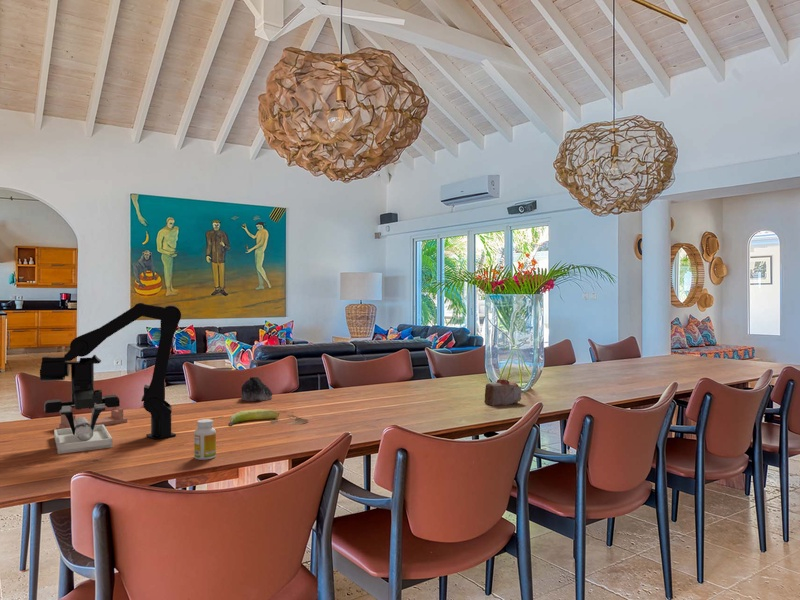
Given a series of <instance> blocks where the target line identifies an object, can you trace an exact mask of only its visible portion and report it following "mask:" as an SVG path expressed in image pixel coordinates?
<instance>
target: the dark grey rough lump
mask: <svg viewBox="0 0 800 600" xmlns="http://www.w3.org/2000/svg"><path fill="white" fill-rule="evenodd" d="M271 399H273V392H272V391H271V389H270V388H269V387H268V385H266V384H264V382H262V380H261V378H260V377H258V376H255V377H254V376H252V377H250V378H249V379H246V381H245V382H244V384H242V386H241V401H246V402H255V401H256V402H257V401H268V400H271Z"/></svg>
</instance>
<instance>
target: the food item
mask: <svg viewBox="0 0 800 600" xmlns="http://www.w3.org/2000/svg"><path fill="white" fill-rule="evenodd" d="M521 400H522V388H521V387H520V386H519V384H518V383H517V382H515V381H509V380H508V379H503V378H502V379H501V378H500V379H497V381H496V382H492V383H491V382H489V383H486V384H485V389H484V404H485V405H488V404H489V406H491V405H492V406H491V407H493V406H508V405H513V403H515V404H518V402H520V401H521Z"/></svg>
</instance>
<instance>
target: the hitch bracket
mask: <svg viewBox="0 0 800 600" xmlns="http://www.w3.org/2000/svg"><path fill="white" fill-rule="evenodd" d="M110 415H111V416H105V417H98V418H97V421H96V424H95V425H103V424H104V426H105V427H106V426H110V425H117V424H124V423H128V418H127V417H125V416H124V408H118V409H117V407H110ZM75 419H76V414H73V420H75ZM87 421H88V423H89V425H91V418H89V419H87ZM65 428H71V427H70V424H69V421H68V420H67V418H66V416H65V415H61V414H60V423H59V424H58V429H65Z"/></svg>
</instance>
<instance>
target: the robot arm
mask: <svg viewBox="0 0 800 600" xmlns="http://www.w3.org/2000/svg"><path fill="white" fill-rule="evenodd" d="M142 317H144V318H150V319H154V320H158V321H160V337H159V341H158V347H157V352H156V358H155V362H154V367H153V372H152V378H151V380H150V383H149V385H148V384H144V387H143V395H142V396H141V400H140V401H141V402H143V403H142V405H143V408H144V410H145V411H146V412H147V413H149V414H150V415H151V416H150V433H146V437H148V438H151V439H153V440H160V439H165V438H171V437H176V436H177V433H174V432H172V412H173V411H172V408H173V407H172V405H171V404H170V403H169V402H168V401H166V400H165V380H166V374H167V369H168V365H169V360H170V354H171V349H172V344H173V338H174V335H175V333H176V331H177V328H178V326H179V323H180V321H181V318H182V312H181V310H180V308H178V307H177V306H176V305H174V304H173V305H172V304H171V305H166V306H165V307H164V306H159V305H151V304H147V303H144V302H138V303H136V304H135V305H134V306H133V307H131V308H129V309H128V310H126V311H124V312H123V313H121V314H120V315H118V316H117V317H114V318H113V319H112V320H109V321H108V322H107V323H105V324H103V325H102V326H100V327H99V328H95V329H93V330H91V331H89V332H86V333H84V334H80V335H79V336H77V337H75V338H73V339H72V340H71V341H70V344H69V350H68V351H67V352H66V353H65V354H64V356H43V357H42V358H41V365H40V369H39V378H40V382H55V381H65V379H66V377H69V376H70V377H71V378H70V381H71V382H70V383H71V384H70V385H71V387H70V388H71V389H70V390H71V393H70V395H71V396H70V397H71V398H70V399H71V400H70V401H62V399H60V398H58V399H57V398H56V399H48V400H45V401H44V413H45V414H51V413H53V414H56V413H59V414H60V416H61V415H65V416H66V418H67V420H68V421H69V424H70V427H71V430H72V432H73V435H75V427H74V420H73V415H74V414H73V408H74V409H75V410H77V411H78V410H83V409H89V410H90V409H91V417H90V419H91V425H90V427H91V428H92V430H93V429H94V426H95V424H96V421H97V418H99V416H100V414H101V413H102V412H104V411H106V407H107V408H111V407H116V408H118V407H120V403H121V402H120V397H119V396H117V395H116V394H106V395H105V394H104V395H103V390H102V389H94V388H95V387H94V385H95V381H94V380H95V379H94V377H95V376H94V375H95V371H94V370H95V369H94V368H95V367H94V365H95V364H100V363H102V360H101V358H99V357H98V356H97V355H96V354H93V355H92V356H91V357H86V356H89V355H90V353H92V352H93V351H94V350H95V349H96V348H98V347H99V345H101V344H102V343H103V342H105V340H107V338H109V337H111V336H113V335H114V334H116V333H118V332H119V331H120V330H122V329H123V328H125V327H127V326H129V325H130V324H132V323H133V322H134V321H135V322H136V320H138V319H140V318H142ZM77 357H80V358H79V360H78V361H77V360H75V361H72V360H74V359H76V358H77ZM70 373H71V374H70Z"/></svg>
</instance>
